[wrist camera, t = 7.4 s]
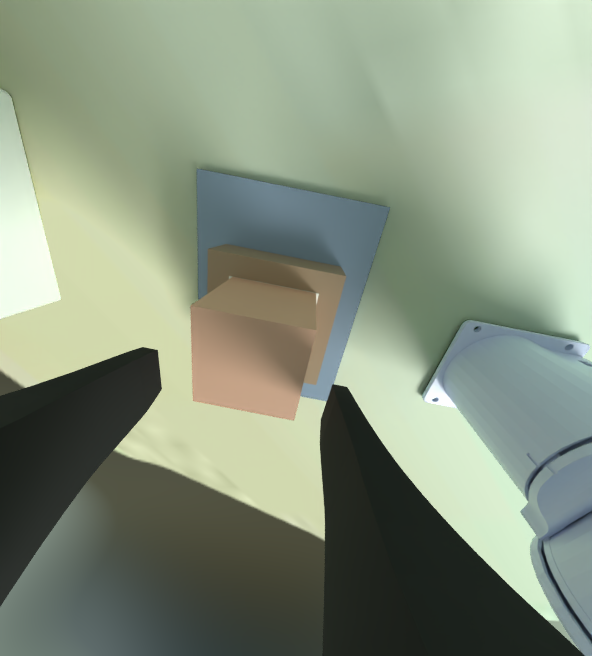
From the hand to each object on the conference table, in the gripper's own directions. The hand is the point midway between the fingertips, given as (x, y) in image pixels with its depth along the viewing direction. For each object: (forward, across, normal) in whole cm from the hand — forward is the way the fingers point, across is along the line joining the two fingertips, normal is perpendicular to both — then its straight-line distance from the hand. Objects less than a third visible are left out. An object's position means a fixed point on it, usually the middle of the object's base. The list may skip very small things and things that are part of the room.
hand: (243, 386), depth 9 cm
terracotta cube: (+6, 0, 0) cm, 6 cm away
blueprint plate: (+9, 0, 0) cm, 9 cm away
